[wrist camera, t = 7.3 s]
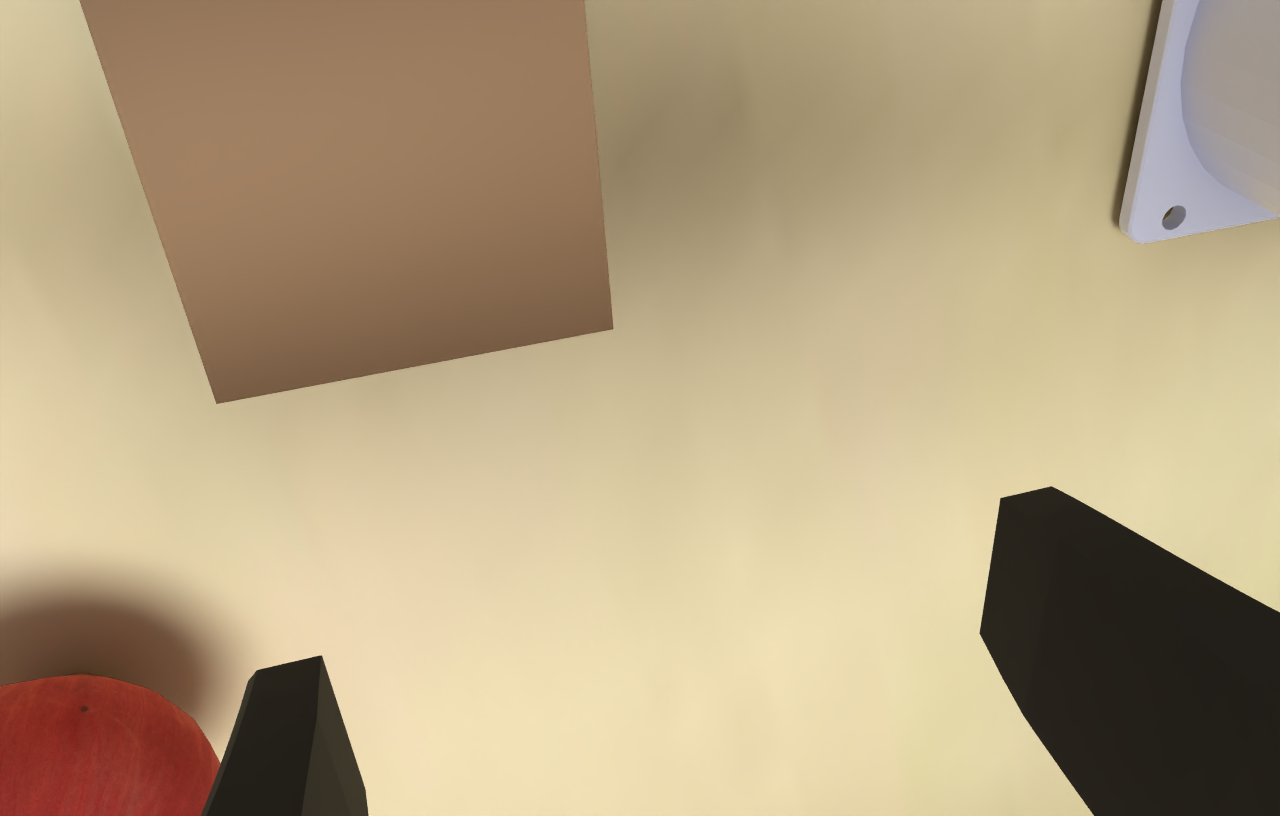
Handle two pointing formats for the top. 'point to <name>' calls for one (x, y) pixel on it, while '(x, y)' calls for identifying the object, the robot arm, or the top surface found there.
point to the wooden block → (363, 177)
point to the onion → (99, 751)
